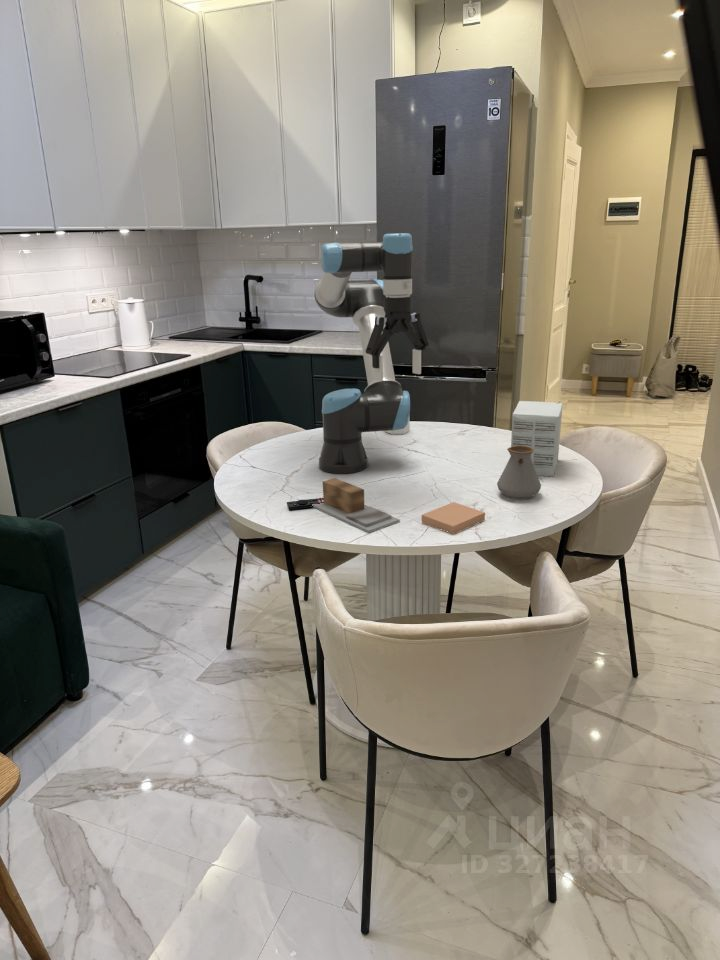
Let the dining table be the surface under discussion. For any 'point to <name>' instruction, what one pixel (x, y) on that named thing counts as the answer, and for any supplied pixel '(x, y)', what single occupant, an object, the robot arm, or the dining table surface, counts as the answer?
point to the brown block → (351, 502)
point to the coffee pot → (519, 475)
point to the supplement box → (538, 433)
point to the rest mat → (342, 516)
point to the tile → (453, 517)
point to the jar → (401, 431)
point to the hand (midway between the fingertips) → (398, 376)
